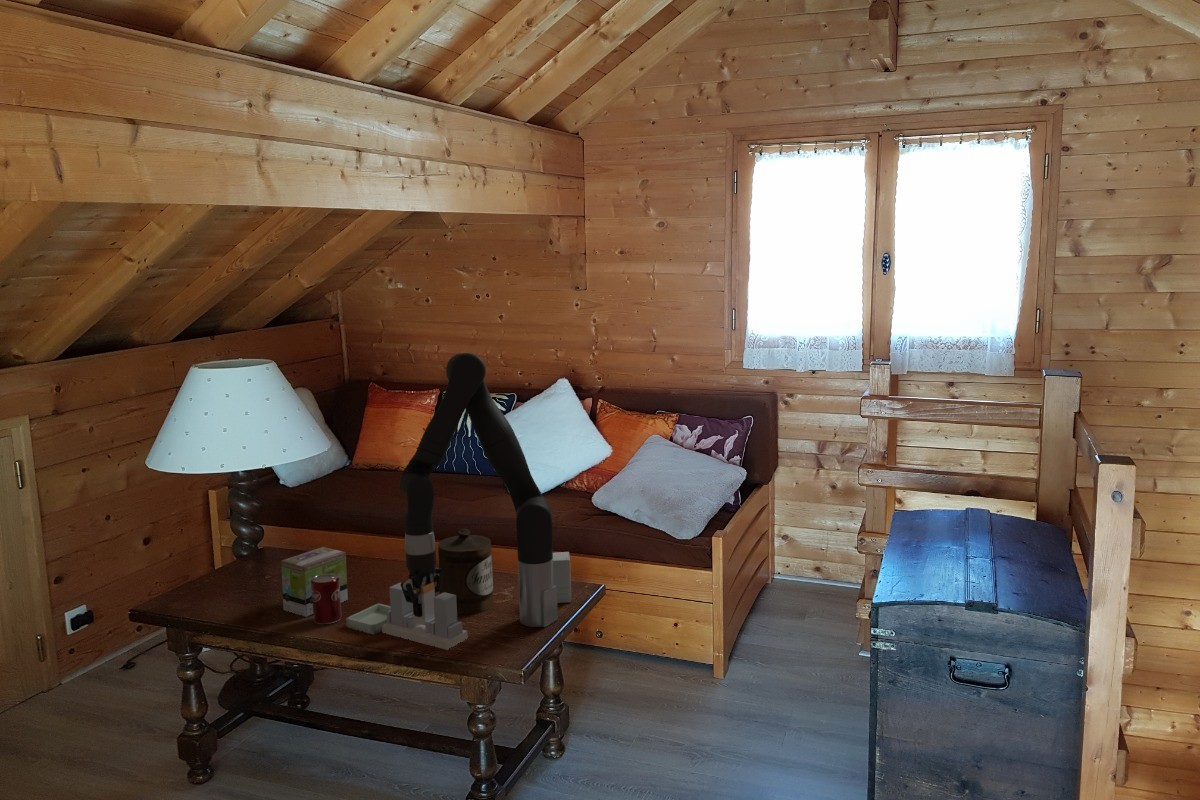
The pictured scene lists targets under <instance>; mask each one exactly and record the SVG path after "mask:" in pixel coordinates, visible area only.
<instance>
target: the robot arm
mask: <svg viewBox="0 0 1200 800" xmlns="http://www.w3.org/2000/svg"><path fill="white" fill-rule="evenodd" d="M445 372H446V373H445V374H446V378H447V380H448V383H447V385H446V390H445V392H444V394H443V397H442V399H441V402H440V403H439V406H438V408H437V409H436V411H435V412H434V414H433V416H432V418H431V419H430V421H429V423H428V425H427V426H426V428H425V430H424V432H423V435H422V437H421V438H420V441H419V444H418V446H417V448H416V451H415V453H414V454H413V456H412V457H411V459H410V460H409V461H408V463H407V464H406V466H405V468H404V470H403V471H402V473H401V476H400V478H399V482H398V486H399V491H400V492H401V494H402V495H404V496H405V497H406V498H407V510H406V511H405V513H404V517H403V518H404V519H403V520H404V522H403V523H404V535H405V536H404V548H405V549H404V550H405V553H404V554H405V564H406V569H407V570H408V572H409V573H408V579H407V580H406V581H401V588H402V591H403V594H404V596H405V599H406V602H409V603H413V613H414V615H415V616H416V617H421V616H422V603H421V601H422V596H421V595H422V594H423V591H422V588H423V587H425V585H427V584H429V583H430V584H431V583H434V593H435V596H437V594H436V593H439V591H440V587H441V581H442V574H443V569H440V568H439V567H436V566H437V555H436V554H437V552H436V538H435V533H434V521H433V519H434V518H433V511H434V510H433V509H434V503H435V486H434V483H433V481H432V479H431V478H430V476H431V474H432V472H433V470H434V469H435V468H437V467H439V466H440V465H441V464H442V463H443V460H444V458H445V456H446V453H447V451H448V450H449V446H450V444H451V442H452V439H453V437H454V435H455V432H456V430H457V427H458V425H459V423H460V421H461V419H462V417H463V414H464V413H465V411H466V412H467V415H468V418H469V419H470V422H471V425H472V428H473V431H474V432H475V435H476V437H477V440H478V442H479V445H480V446H481V447H480V448H481V449H482V451H483V453H484V455H485V457H486V459H487V461H488V463H489V464H490V467H491V468H492V469H493V471H494V472H495V473H496V474H497V476H498V477H499V479H500V480H501V481H502V483H503V484H504V486H505V487H506V490H507V491H508V494H509V496H510V499H511V501H512V504H513V507H514V510H515V514H516V518H515V519H516V520H515V521H516V523H515V524H516V526H515V527H516V545H517V546H516V548H517V570H518V571H517V572H518V576H517V577H518V597H519V598H518V603H519V605H518V607H519V623H520V624H522V625H523V626H526V627H529V628H530V627H532V628H539V627H541V628H547V627H548V626H549V625H551V624H553V623H555V622H556V621H558V619H559V617H558V616H559V615H558V603H557V586H555V585H553V553H554V552H553V551H554V544H553V542H554V541H553V516H552V515H553V514H552V510H551V507H550V505H549V503H548V501H547V500H546V497H545V496H544V494H543V493H542V492H541V489H540V488H539V487H538V485H537V482H535V480H534V478H533V476H532V473H531V471H530V468H529V466H528V461H527V458H526V457H525V453H524V451H523V449H522V447H521V444H520V442H519V440H518V438H517V435H516V434H515V431H514V429H513V427H512V425H511V424H510V422H509V421H508V419H507V417H505V415H504V414H503V412H502V410H501V409H500V408H499V407H498V405H497V404H496V402H495V401H494V399H493V398H492V395H491V393H490V392H489V389H488V387H487V384H486V382H485V377H486V373H487V370H486V364H485V363H484V361H483V359H482V358H481V357H480V356H479V355H477V354H476V353H475V354H474V353H472V352H471V353H470V352H462V353H457V354H455V355H453V356H452V357H450V359H449V360H448V362H447V364H446V368H445ZM414 587H415V588H417V589H420V590H419V591H417V590H414ZM416 594H417V595H418V596H417V598H416Z"/></svg>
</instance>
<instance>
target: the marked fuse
mask: <svg viewBox="0 0 1200 800" xmlns="http://www.w3.org/2000/svg"><path fill="white" fill-rule="evenodd" d="M414 590H417V591H419V590H420V589H417V588H415V587H414ZM422 591H423V594H422V595H421V596H422V601H421V603H422V616H421V617H416V616H415V615H414V613H413V617H414V623H417V624H421V625H425V622H426V621H428V620H430V619H432V618H434V598H433V597H435V596H436V595H435V593H434V583H431V584H430V583H429V584H427V585H425V587H423V588H422ZM417 596H418V595H417V594H416V598H417Z"/></svg>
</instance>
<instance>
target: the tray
mask: <svg viewBox="0 0 1200 800" xmlns="http://www.w3.org/2000/svg"><path fill="white" fill-rule="evenodd" d="M390 610H391V607H390V605H387V604H382V603H376V604H373V605H371V606H370V607H367V608H365V609H362V610H361V611H359V612H357V613H354V614H352V615H350V616H348V617H346V618H345V627H346V628H347V627H348V628H349V629H351V628H352V630H355V631H358V630H359V632H362V631H363V633H366V634H369V635H376V634H379V633H380V632H382V625H384V624H386V623H387V615H386V612H388V611H390Z"/></svg>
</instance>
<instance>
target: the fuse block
mask: <svg viewBox="0 0 1200 800" xmlns="http://www.w3.org/2000/svg"><path fill="white" fill-rule="evenodd" d="M401 583H402V581H401V582H398V583H396V584H393V585H392V586H389V604H390V605H389V606H390V607H391V610H390V611H388V612H386V615H387V623H386V624H384V625H382V631H381V633H382V634H385V633H386V634H385V635H390V636H393V637H396V638H400V637H401V638H402V639H405V640H408V639H409V641H411V642H416V643H420V644H423V645H427V646H431V647H434V646H435V647H434V648H438V649H442V650H446V651H448V650H450V649H452V648H454V647H456V646H457V645H459V644H461V643H462V642H464V641H466V640H467V638H469V636H468V630H465V629H463V622H462V621H458V614H457V602H456V595H454V594H449V593H445V592H444V593H442V594H440V593H439V594H438V595H437V594H436V595H435V597H433V598H434V618H432V619H430V620H428V621H426V622H425V625H421V624H417V623H414V617H413V603H409V602H406V599H405V596H404V594H403V591H402V588H401ZM465 639H466V640H465ZM460 642H461V643H460ZM458 643H459V644H458ZM451 647H452V648H451ZM449 648H450V649H449Z"/></svg>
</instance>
